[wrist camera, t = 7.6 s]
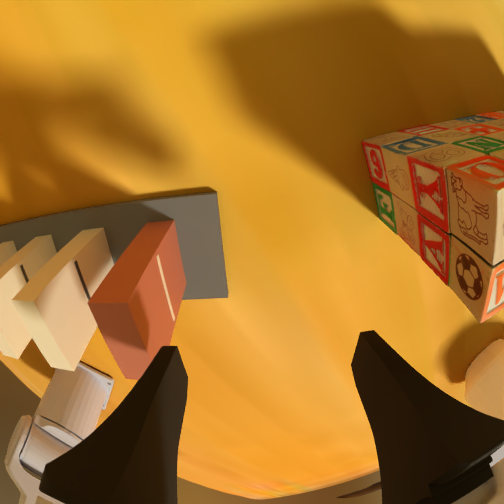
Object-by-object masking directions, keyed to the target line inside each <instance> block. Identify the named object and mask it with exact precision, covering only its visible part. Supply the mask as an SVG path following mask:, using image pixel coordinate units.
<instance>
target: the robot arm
mask: <svg viewBox="0 0 504 504" xmlns="http://www.w3.org/2000/svg"><path fill="white" fill-rule="evenodd" d="M351 367H352V371H353V376H354V380H355V384H356V387H357V390H358V393H359V396H360V398H361V401H362V404H363V406H364V409H365V412H366V415H367V417H368V420H369V423H370V426H371V429H372V432H373V436H374V440H375V445H376V450H377V455H378V461H379V468H380V475H381V486H382V504H504V458H503V459H501V460H500V461H499V462H498V463H496V464H495V465H493V466H492V467H490V465H489V463H491V462H492V457H491V454H493V453H494V452H495V451H496V450H497V449H499V448H500V447H501V446H502V445H504V420H502V419H498V418H495V417H492V416H490V415H487V414H484V413H482V412H480V411H477V410H475V409H473V408H471V407H469V406H467V405H465V404H463V403H461V402H459V401H458V400H456V399H454V398H453V397H451V396H449V395H448V394H446V393H445V392H443V391H442V390H440V389H439V388H438V387H436V386H435V385H433V384H432V383H431V382H429V381H428V380H427V379H426V378H425V377H423V376H422V375H421V374H420V373H418V372H417V371H416V370H415V369H414V368H413V367H412V366H410V365H409V364H408V363H407V362H406V361H405V360H404V359H403V358H402V357H401V356H400V355H399V354H398V353H397V352H396V351H395V350H394V349H393V348H392V347H390V346H389V345H388V344H387V343H386V342H385V341H384V340H383V339H382V338H381V337H380V336H379V335H378V334H377V333H376V332H375V331H374V330H371V331H365V332H360V335H359V339H358V342H357V346H356V350H355V353H354V357H353V360H352V363H351ZM113 384H114V379H112V378H111V377H109V376H107V375H104V374H102V373H100V372H98V371H96V370H94V369H92V368H91V367H89V366H87V365H85V364H83V363H81V362H79V363H78V365H77V367H76V369H75V371H69V370H64V369H58V368H55V373H54V375H53V377H52V379H51V381H50V383H49V385H48V387H47V389H46V391H45V393H44V395H43V397H42V399H41V402H40V404H39V406H38V408H37V411H36V413H35V415H34V416H33V417H30V416H29V415H27V416H22V417H21V419H20V420H19V422H18V424H17V426H16V428H15V430H14V433H13V435H12V437H11V440H10V443H9V446H8V450H7V455H6V459H5V464H6V470H7V472H8V473H9V475H10V477H11V478H12V480H13V482H14V483H15V485H16V486H17V487H18V489H19V490H20V492H21V496H20V501H19V504H177V456H178V446H179V439H180V434H181V428H182V423H183V417H184V412H185V406H186V400H187V387H188V376H187V373H186V370H185V368H184V365H183V362H182V359H181V356H180V353H179V350H178V347H177V346H162V347H161V348H160V349H159V351H158V353H157V354H156V356H155V357H154V359H153V360H152V362H151V363H150V365H149V366H148V368H147V369H146V370H145V372H144V373H143V375H142V376H141V378H140V379H139V380H138V382H137V383H136V384H135V386H134V387H133V389H132V390H131V391H130V392H129V394H128V395H127V396H126V397H125V399H124V400H123V401H122V402H121V404H120V405H119V406H118V407H117V408H116V409H115V411H114V412H113V413H112V414H111V415H110V416H109V417H108V418H107V419H106V420H105V421H104V422H103V423H102V424H101V425H100V426H99V427H98V428H97V429H96V430H95V428H96V425H97V421H98V418H99V415H100V412H101V409H105V408H106V405H107V402H108V399H109V396H110V393H111V390H112V387H113ZM21 465H22V466H24V467H25V468H27V469H29V470H30V471H32V472H34V473H35V474H37V475H39V476H40V477H42V478H41V481H40V480H38V479H36V478H34V477H33V476H31V475H30V474H28V473H27V472H26V471H25V470H24V469H23V468H22V466H21Z"/></svg>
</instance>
